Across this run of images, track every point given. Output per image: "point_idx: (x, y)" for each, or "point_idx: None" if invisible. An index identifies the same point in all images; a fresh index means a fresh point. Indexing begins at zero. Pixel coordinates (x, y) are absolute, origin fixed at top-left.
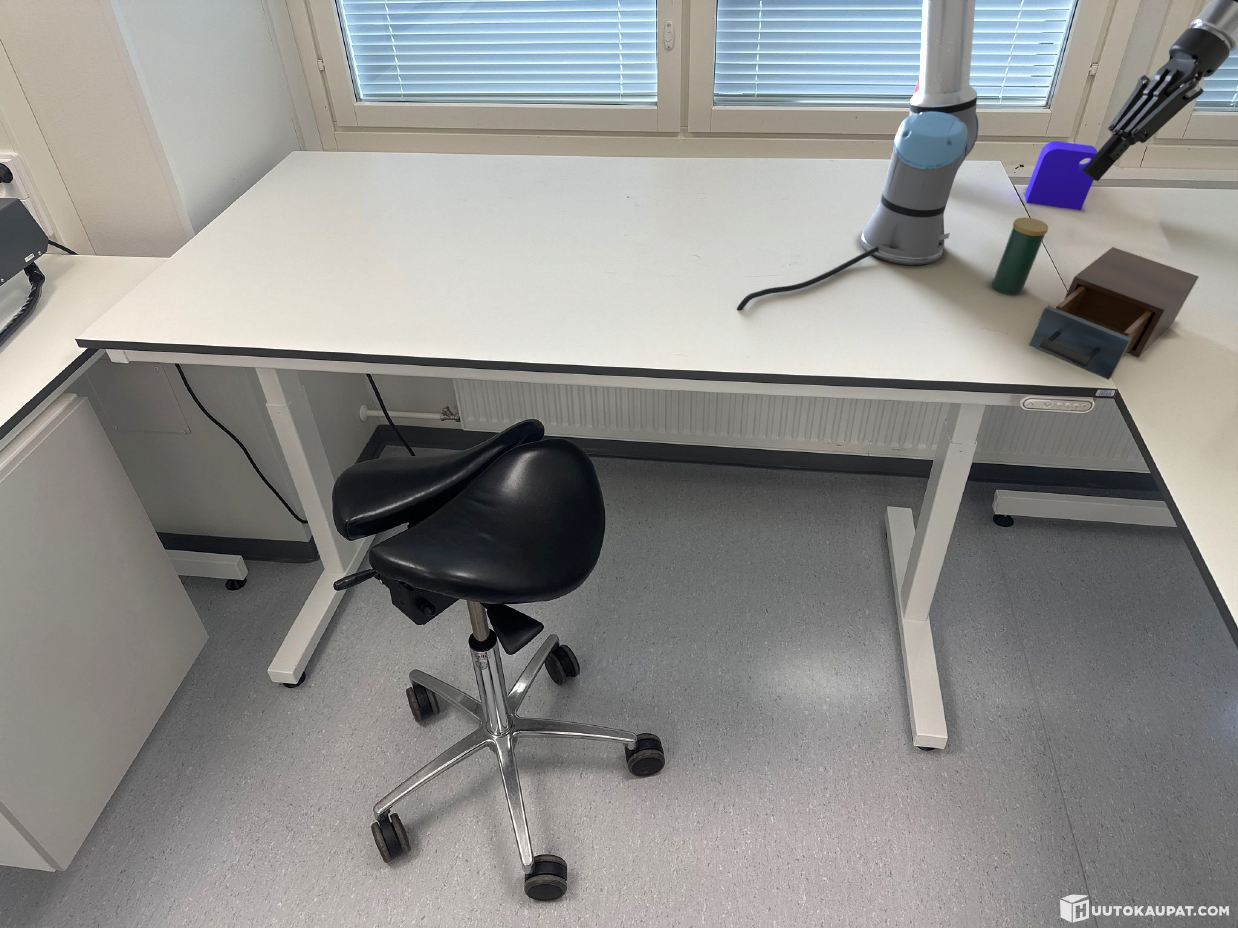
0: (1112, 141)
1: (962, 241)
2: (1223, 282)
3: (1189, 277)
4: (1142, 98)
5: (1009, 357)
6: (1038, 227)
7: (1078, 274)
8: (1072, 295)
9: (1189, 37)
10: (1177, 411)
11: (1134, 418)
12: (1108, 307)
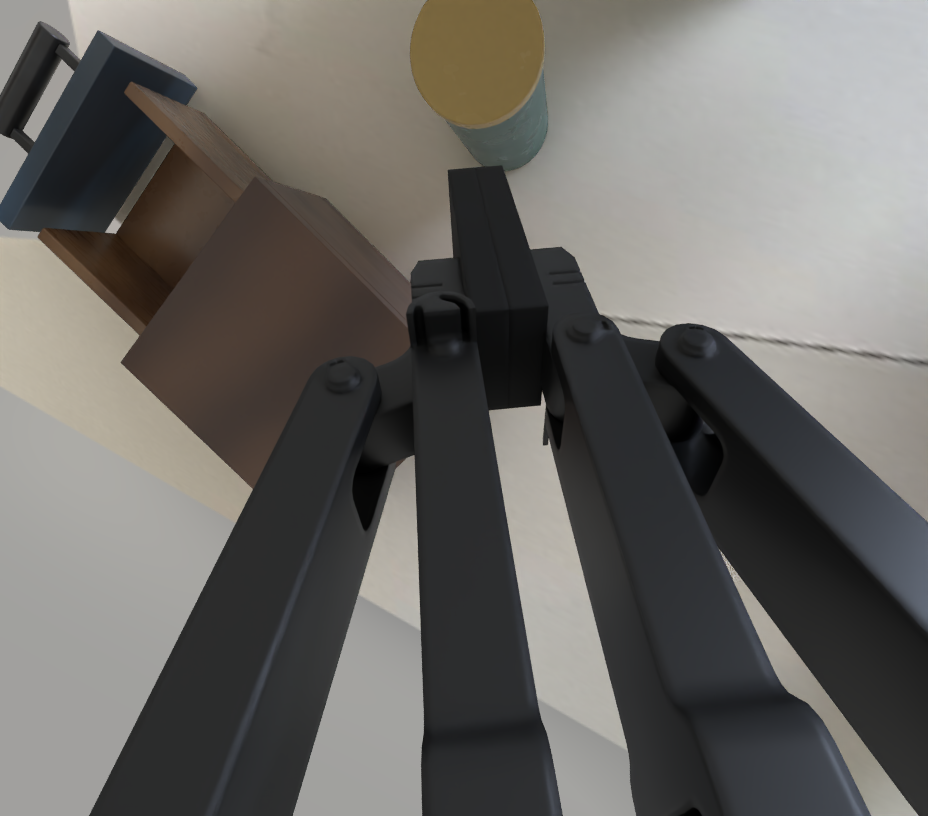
0: (479, 279)
1: (836, 55)
2: (563, 703)
3: None
4: (735, 653)
5: (159, 24)
6: (447, 73)
7: (269, 195)
8: (194, 153)
9: None
10: (51, 334)
11: (9, 238)
12: None
